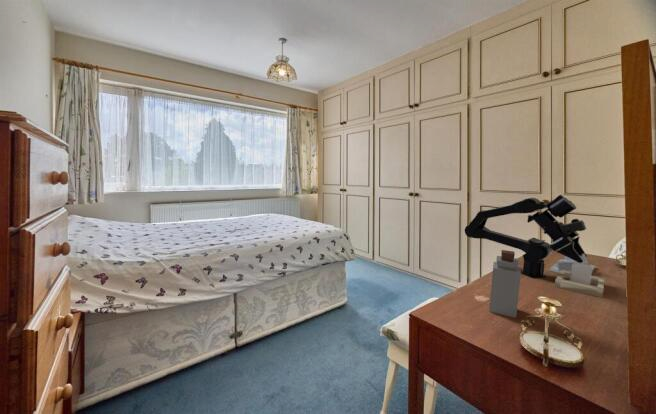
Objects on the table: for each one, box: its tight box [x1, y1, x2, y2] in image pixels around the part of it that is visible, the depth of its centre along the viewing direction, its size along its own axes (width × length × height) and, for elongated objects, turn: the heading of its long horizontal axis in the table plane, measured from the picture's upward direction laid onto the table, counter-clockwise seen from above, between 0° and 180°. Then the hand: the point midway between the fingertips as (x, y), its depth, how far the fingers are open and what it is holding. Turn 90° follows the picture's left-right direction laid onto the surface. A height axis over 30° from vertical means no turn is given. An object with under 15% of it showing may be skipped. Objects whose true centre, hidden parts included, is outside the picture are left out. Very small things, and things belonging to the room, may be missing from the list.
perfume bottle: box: [488, 249, 522, 319], centre depth 86 cm, size 7×7×18 cm
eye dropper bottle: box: [569, 253, 593, 285], centre depth 105 cm, size 4×6×12 cm
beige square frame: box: [554, 270, 605, 298], centre depth 106 cm, size 16×13×2 cm
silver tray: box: [549, 255, 596, 274], centre depth 123 cm, size 12×20×4 cm, turn 132°
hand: (583, 259), depth 104 cm, fingers open, 9 cm apart
